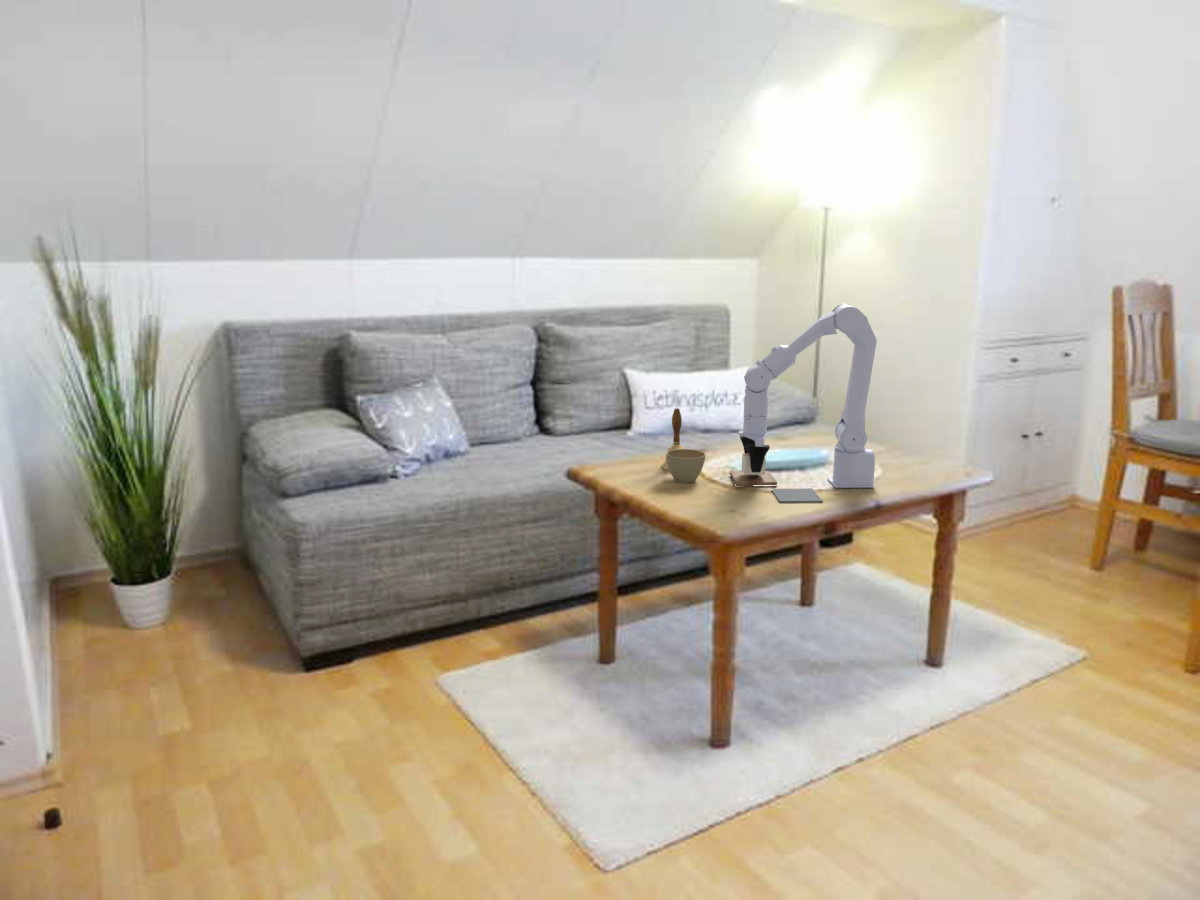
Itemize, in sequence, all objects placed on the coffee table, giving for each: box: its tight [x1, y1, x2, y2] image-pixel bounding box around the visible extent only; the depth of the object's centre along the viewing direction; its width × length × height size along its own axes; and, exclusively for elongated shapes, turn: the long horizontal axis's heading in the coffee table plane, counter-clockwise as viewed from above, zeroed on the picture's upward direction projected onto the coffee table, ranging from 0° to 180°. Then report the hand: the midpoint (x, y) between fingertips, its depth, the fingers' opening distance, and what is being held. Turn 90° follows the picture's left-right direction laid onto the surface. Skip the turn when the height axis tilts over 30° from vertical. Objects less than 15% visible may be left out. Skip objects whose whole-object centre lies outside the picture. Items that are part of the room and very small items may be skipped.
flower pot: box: [665, 448, 707, 484], centre depth 216 cm, size 10×10×7 cm
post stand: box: [729, 470, 778, 487], centre depth 215 cm, size 10×10×6 cm
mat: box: [771, 487, 824, 504], centre depth 203 cm, size 10×10×1 cm
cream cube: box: [741, 453, 767, 475], centre depth 215 cm, size 5×5×4 cm
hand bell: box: [660, 408, 686, 472], centre depth 227 cm, size 8×8×16 cm
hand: (753, 467), depth 215 cm, fingers open, 7 cm apart
